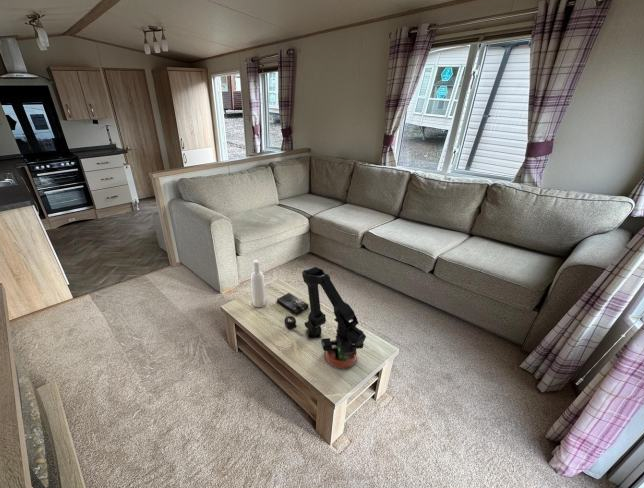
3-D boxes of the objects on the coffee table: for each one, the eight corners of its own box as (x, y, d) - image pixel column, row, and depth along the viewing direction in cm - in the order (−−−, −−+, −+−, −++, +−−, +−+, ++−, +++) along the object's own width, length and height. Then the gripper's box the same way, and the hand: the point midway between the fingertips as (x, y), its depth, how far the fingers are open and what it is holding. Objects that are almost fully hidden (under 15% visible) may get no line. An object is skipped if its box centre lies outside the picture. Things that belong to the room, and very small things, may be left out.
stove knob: (303, 306, 176) (303, 300, 173) (298, 309, 174) (298, 303, 171) (299, 303, 178) (299, 297, 176) (294, 306, 176) (294, 300, 174)
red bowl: (329, 370, 139) (329, 362, 136) (322, 347, 151) (323, 340, 148) (359, 367, 139) (360, 360, 137) (350, 345, 151) (351, 338, 149)
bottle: (251, 307, 181) (247, 264, 165) (254, 299, 188) (250, 257, 172) (264, 308, 180) (261, 265, 164) (266, 300, 186) (264, 258, 171)
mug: (281, 326, 165) (281, 316, 161) (289, 321, 169) (289, 311, 165) (297, 337, 157) (297, 327, 153) (305, 332, 161) (305, 321, 157)
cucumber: (339, 364, 141) (339, 358, 139) (334, 349, 149) (335, 344, 147) (346, 363, 141) (347, 358, 139) (341, 349, 149) (342, 344, 147)
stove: (309, 309, 177) (309, 305, 176) (297, 316, 172) (297, 312, 171) (289, 295, 189) (288, 292, 188) (277, 302, 184) (276, 298, 183)
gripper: (326, 346, 129) (324, 370, 137) (369, 343, 130) (365, 367, 138) (321, 328, 139) (320, 352, 147) (361, 325, 139) (357, 349, 147)
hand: (340, 355), depth 144 cm, fingers closed on cucumber, 3 cm apart
